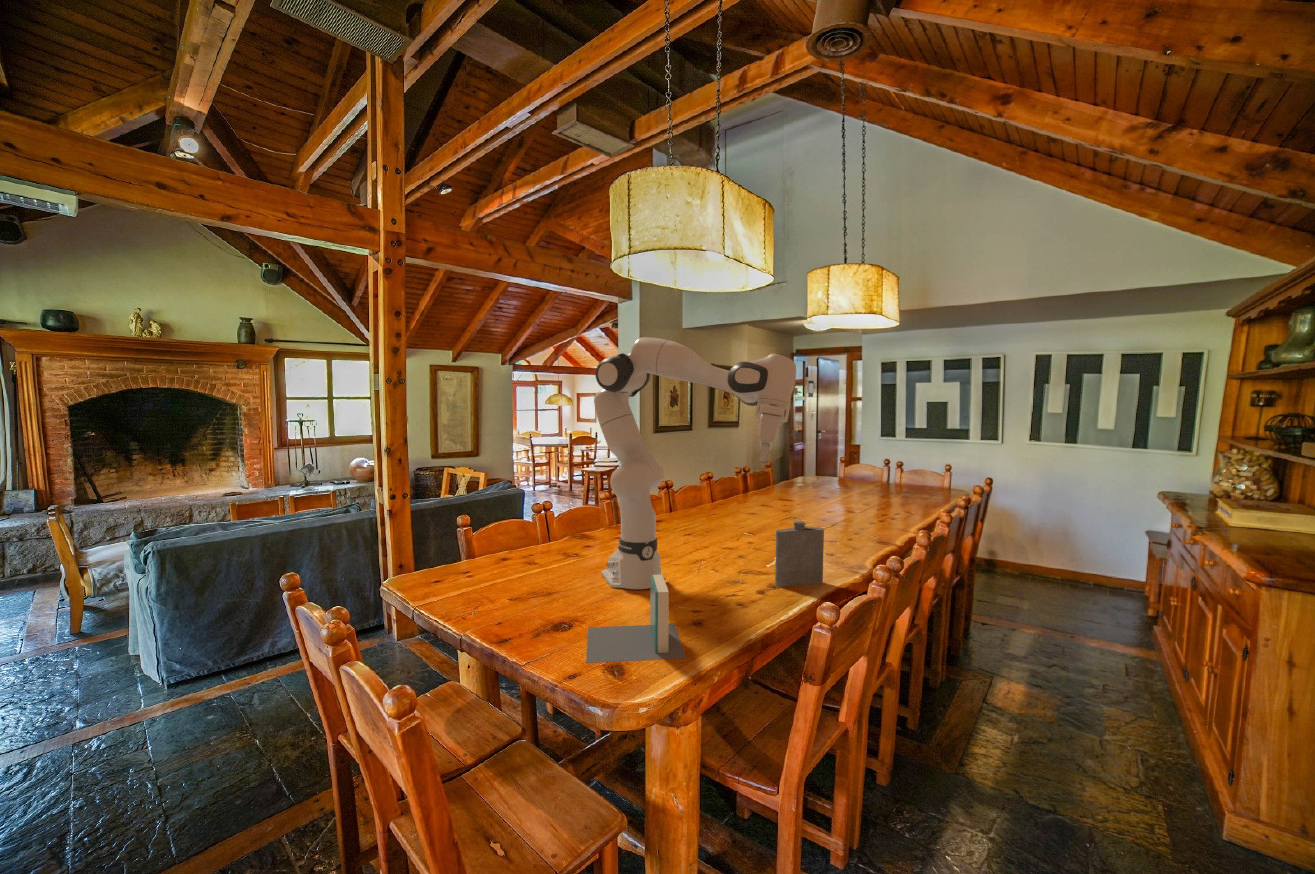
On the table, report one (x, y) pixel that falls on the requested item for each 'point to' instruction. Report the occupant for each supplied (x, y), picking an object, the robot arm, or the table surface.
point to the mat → (629, 644)
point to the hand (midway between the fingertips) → (762, 462)
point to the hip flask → (799, 556)
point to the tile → (659, 613)
